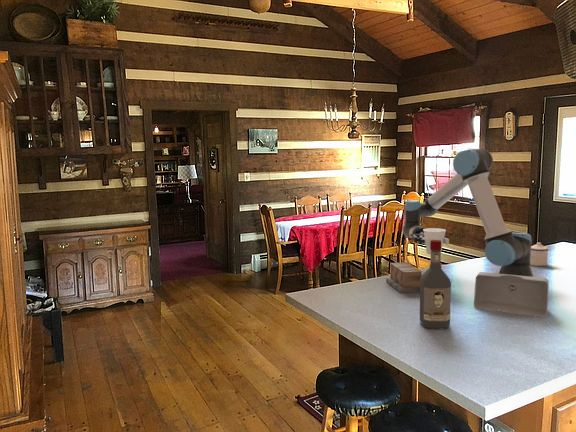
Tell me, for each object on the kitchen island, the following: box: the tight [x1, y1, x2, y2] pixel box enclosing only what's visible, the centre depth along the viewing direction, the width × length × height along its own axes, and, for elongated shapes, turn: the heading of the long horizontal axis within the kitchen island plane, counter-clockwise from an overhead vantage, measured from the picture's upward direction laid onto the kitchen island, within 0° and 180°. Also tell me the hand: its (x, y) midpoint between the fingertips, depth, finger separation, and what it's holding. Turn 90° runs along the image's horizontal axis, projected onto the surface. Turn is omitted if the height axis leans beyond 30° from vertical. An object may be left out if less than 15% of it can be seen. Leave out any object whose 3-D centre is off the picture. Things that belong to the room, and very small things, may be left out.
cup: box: [423, 227, 447, 256], centre depth 212 cm, size 10×10×11 cm
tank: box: [473, 271, 549, 318], centre depth 181 cm, size 25×16×12 cm, turn 61°
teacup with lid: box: [530, 242, 549, 267], centre depth 249 cm, size 12×9×12 cm
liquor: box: [419, 240, 452, 330], centre depth 163 cm, size 9×9×30 cm
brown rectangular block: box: [385, 261, 423, 293], centre depth 213 cm, size 18×12×9 cm, turn 6°
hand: (438, 242), depth 207 cm, fingers closed on cup, 8 cm apart
